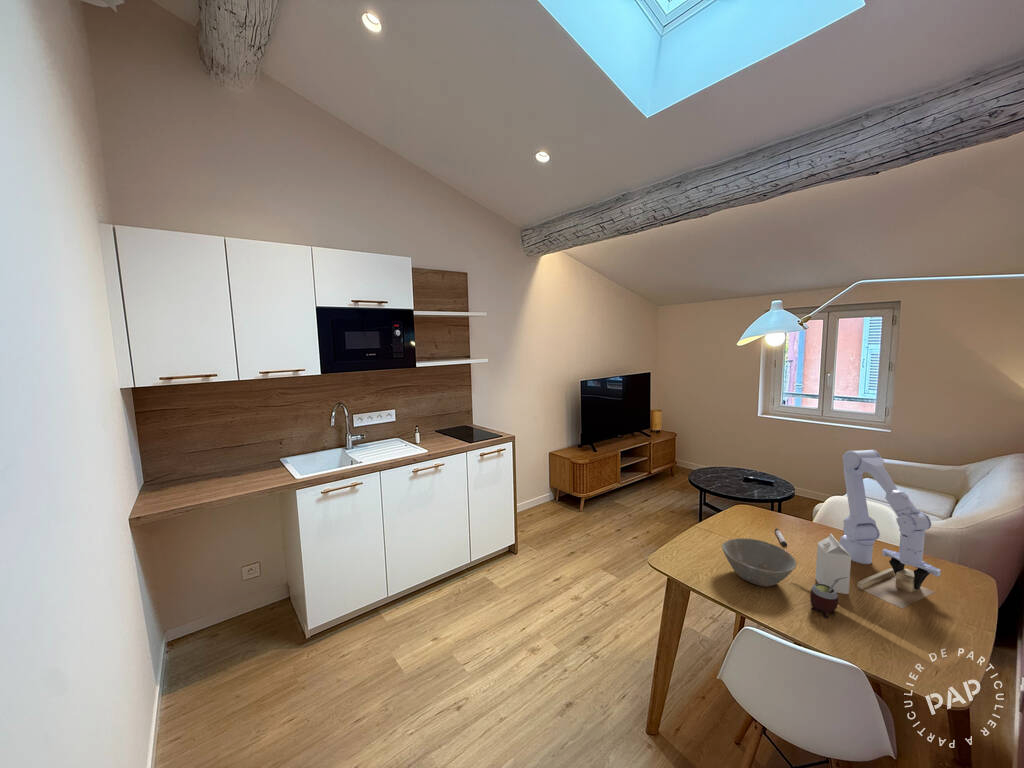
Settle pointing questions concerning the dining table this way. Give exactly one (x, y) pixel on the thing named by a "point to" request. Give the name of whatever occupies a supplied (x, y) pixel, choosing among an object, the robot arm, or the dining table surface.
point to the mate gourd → (824, 598)
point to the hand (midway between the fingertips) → (908, 584)
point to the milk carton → (833, 564)
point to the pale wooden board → (891, 589)
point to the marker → (780, 537)
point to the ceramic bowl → (758, 561)
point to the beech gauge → (905, 580)
